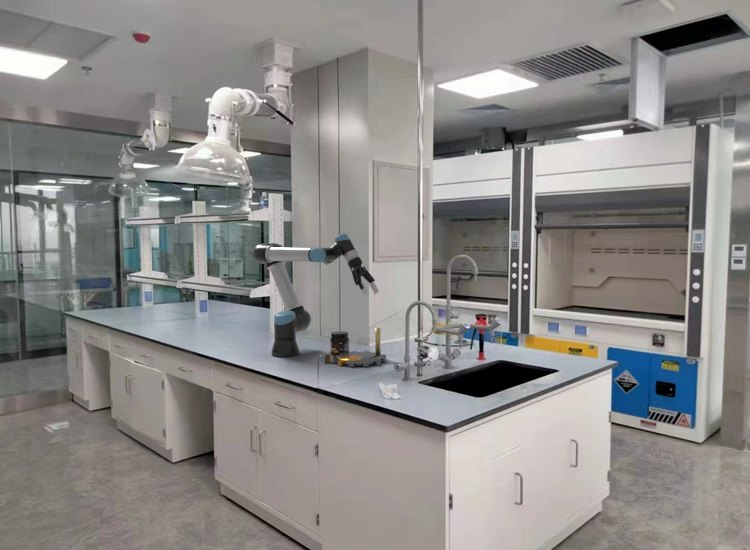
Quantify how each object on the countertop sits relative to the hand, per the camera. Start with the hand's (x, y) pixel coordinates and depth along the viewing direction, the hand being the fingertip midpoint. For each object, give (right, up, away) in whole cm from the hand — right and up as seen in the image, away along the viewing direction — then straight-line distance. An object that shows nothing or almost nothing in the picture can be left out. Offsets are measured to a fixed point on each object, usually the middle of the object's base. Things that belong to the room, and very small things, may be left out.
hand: (371, 293), depth 278 cm
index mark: (-23, -35, -10) cm, 43 cm away
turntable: (-6, -35, -9) cm, 36 cm away
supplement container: (-18, -34, +9) cm, 39 cm away
